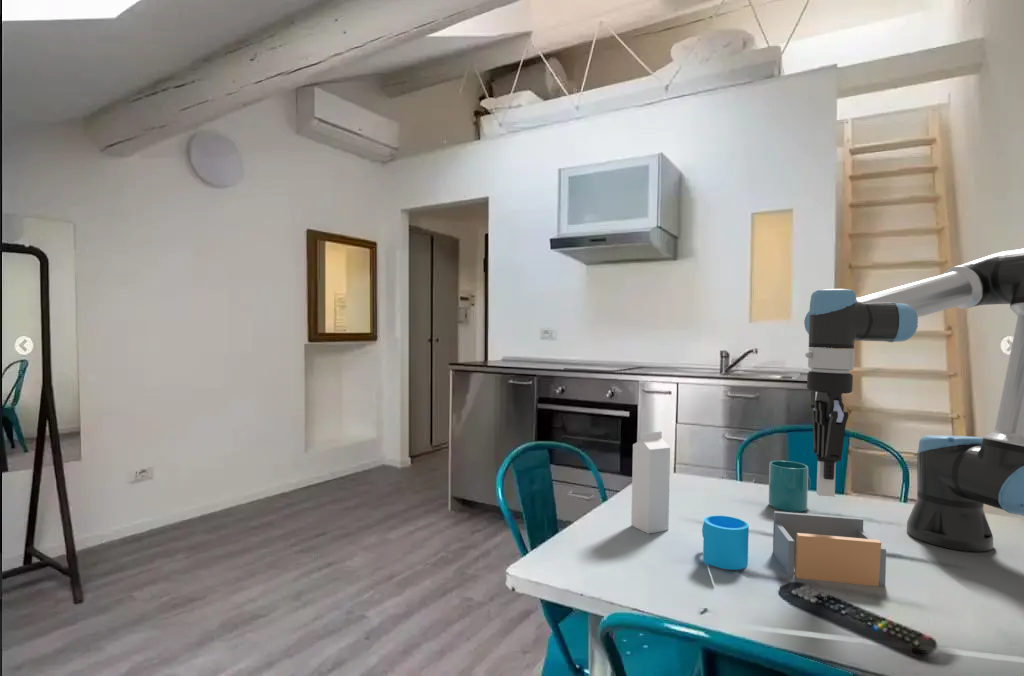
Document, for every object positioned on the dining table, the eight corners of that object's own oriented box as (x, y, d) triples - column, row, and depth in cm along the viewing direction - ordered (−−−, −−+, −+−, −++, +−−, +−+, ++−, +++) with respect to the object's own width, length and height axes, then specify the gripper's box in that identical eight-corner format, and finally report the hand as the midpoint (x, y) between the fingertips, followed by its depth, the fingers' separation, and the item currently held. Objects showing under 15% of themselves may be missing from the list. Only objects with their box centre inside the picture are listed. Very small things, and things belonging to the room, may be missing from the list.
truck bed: (860, 563, 109) (861, 518, 109) (885, 588, 99) (886, 538, 99) (772, 555, 113) (773, 511, 113) (787, 578, 102) (788, 529, 102)
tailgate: (875, 582, 99) (878, 539, 99) (878, 586, 98) (881, 542, 98) (794, 574, 102) (796, 532, 101) (796, 577, 101) (798, 535, 100)
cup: (823, 509, 143) (825, 466, 143) (788, 514, 139) (789, 469, 139) (794, 499, 152) (795, 458, 151) (760, 503, 147) (761, 461, 147)
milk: (631, 525, 129) (632, 430, 129) (651, 522, 132) (652, 429, 131) (648, 534, 123) (649, 435, 123) (669, 530, 126) (670, 433, 126)
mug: (756, 571, 105) (757, 528, 105) (717, 574, 103) (718, 530, 103) (721, 547, 117) (722, 508, 117) (685, 549, 115) (686, 510, 115)
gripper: (798, 368, 112) (794, 484, 113) (819, 372, 100) (815, 503, 100) (839, 369, 111) (834, 487, 111) (866, 374, 98) (861, 507, 98)
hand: (825, 494), depth 105 cm, fingers closed
